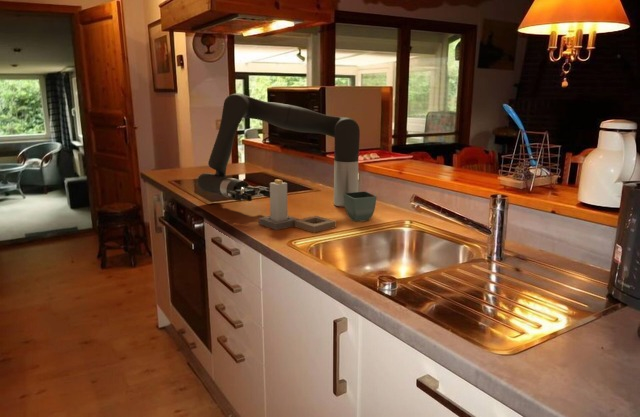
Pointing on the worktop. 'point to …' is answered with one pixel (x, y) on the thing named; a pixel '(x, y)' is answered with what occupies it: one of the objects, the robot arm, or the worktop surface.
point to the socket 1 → (277, 225)
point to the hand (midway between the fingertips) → (261, 196)
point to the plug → (278, 201)
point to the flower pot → (359, 205)
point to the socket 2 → (315, 223)
